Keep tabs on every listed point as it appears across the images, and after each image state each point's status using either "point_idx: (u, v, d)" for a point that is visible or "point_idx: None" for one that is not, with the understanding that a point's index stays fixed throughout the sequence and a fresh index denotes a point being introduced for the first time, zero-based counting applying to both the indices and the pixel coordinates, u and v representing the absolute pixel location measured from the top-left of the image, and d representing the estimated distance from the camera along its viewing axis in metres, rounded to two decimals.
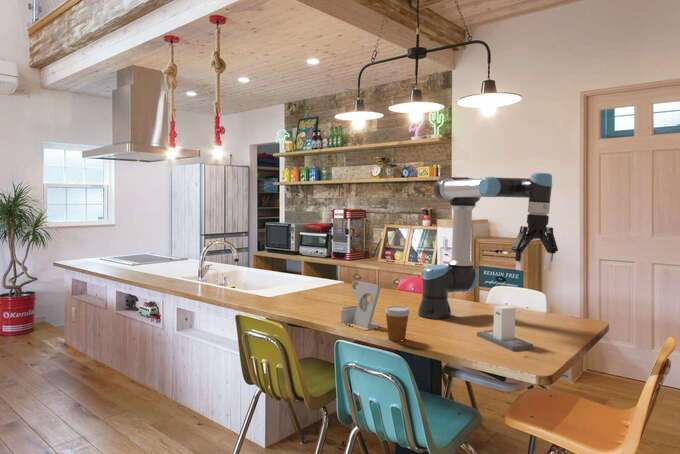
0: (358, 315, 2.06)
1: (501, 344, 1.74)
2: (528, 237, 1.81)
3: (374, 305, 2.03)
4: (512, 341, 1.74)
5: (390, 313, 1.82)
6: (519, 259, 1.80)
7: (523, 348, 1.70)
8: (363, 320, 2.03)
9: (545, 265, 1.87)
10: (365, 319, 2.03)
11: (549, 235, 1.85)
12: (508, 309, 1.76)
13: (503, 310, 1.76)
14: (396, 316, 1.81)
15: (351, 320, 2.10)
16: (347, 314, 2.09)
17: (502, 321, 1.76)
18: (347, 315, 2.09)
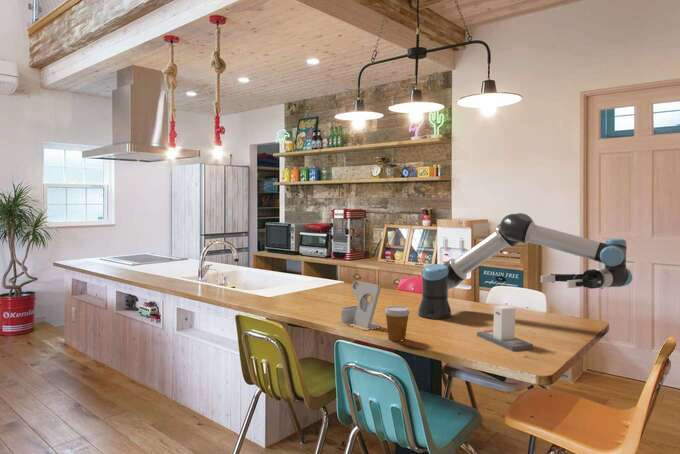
0: (358, 315, 2.06)
1: (501, 344, 1.74)
2: None
3: (374, 305, 2.02)
4: (512, 341, 1.74)
5: (390, 313, 1.82)
6: (578, 285, 1.80)
7: (523, 348, 1.70)
8: (363, 320, 2.03)
9: (545, 277, 1.93)
10: (365, 319, 2.03)
11: None
12: (508, 309, 1.76)
13: (503, 310, 1.76)
14: (396, 316, 1.81)
15: (351, 320, 2.10)
16: (347, 314, 2.08)
17: (502, 321, 1.76)
18: (347, 315, 2.08)
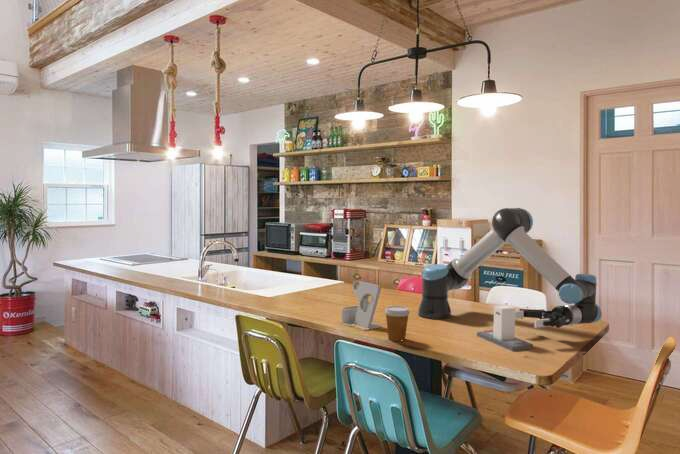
0: (359, 315, 2.06)
1: (501, 344, 1.74)
2: None
3: (375, 305, 2.02)
4: (512, 341, 1.74)
5: (390, 313, 1.82)
6: None
7: (523, 348, 1.70)
8: (364, 320, 2.03)
9: None
10: (365, 319, 2.02)
11: None
12: (508, 309, 1.76)
13: (503, 310, 1.76)
14: (396, 316, 1.81)
15: (351, 320, 2.10)
16: (348, 314, 2.08)
17: (502, 321, 1.76)
18: (348, 315, 2.08)
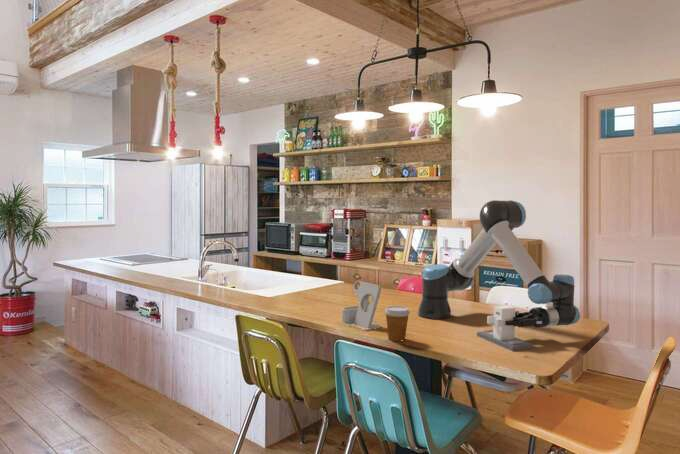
0: (359, 315, 2.06)
1: (501, 344, 1.74)
2: None
3: (375, 305, 2.02)
4: (512, 341, 1.74)
5: (390, 313, 1.82)
6: None
7: (523, 348, 1.70)
8: (364, 321, 2.03)
9: (491, 318, 1.80)
10: (366, 319, 2.02)
11: None
12: (508, 309, 1.76)
13: (503, 310, 1.76)
14: (396, 316, 1.81)
15: (352, 321, 2.09)
16: (348, 314, 2.08)
17: None
18: (348, 315, 2.08)
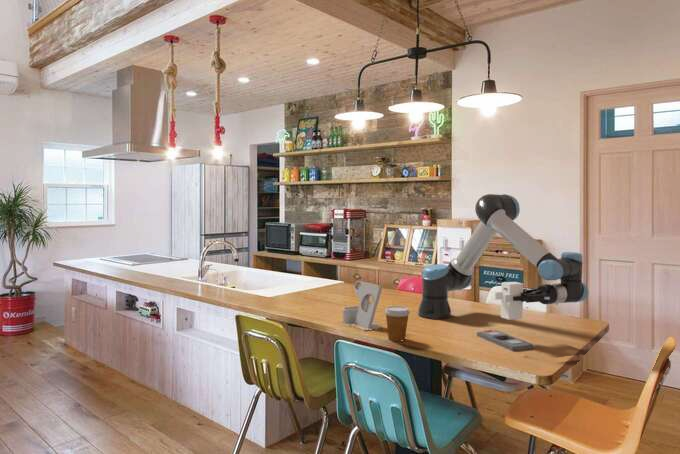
0: (359, 315, 2.06)
1: (501, 344, 1.74)
2: None
3: (375, 306, 2.02)
4: (512, 341, 1.74)
5: (390, 313, 1.82)
6: None
7: (523, 348, 1.70)
8: (364, 321, 2.02)
9: (499, 294, 1.80)
10: (366, 319, 2.02)
11: None
12: (516, 285, 1.77)
13: (511, 286, 1.76)
14: (396, 316, 1.81)
15: (352, 321, 2.09)
16: (349, 314, 2.08)
17: None
18: (349, 315, 2.08)
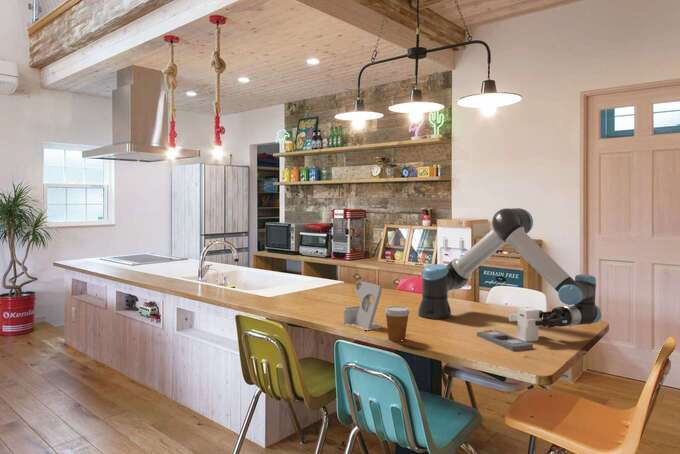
0: (360, 315, 2.06)
1: (501, 344, 1.74)
2: None
3: (375, 306, 2.01)
4: (512, 341, 1.74)
5: (390, 313, 1.82)
6: None
7: (523, 348, 1.70)
8: (364, 321, 2.02)
9: (513, 316, 1.86)
10: (366, 319, 2.02)
11: None
12: (532, 311, 1.80)
13: (527, 312, 1.80)
14: (396, 316, 1.81)
15: (353, 321, 2.09)
16: (349, 314, 2.08)
17: None
18: (349, 315, 2.08)
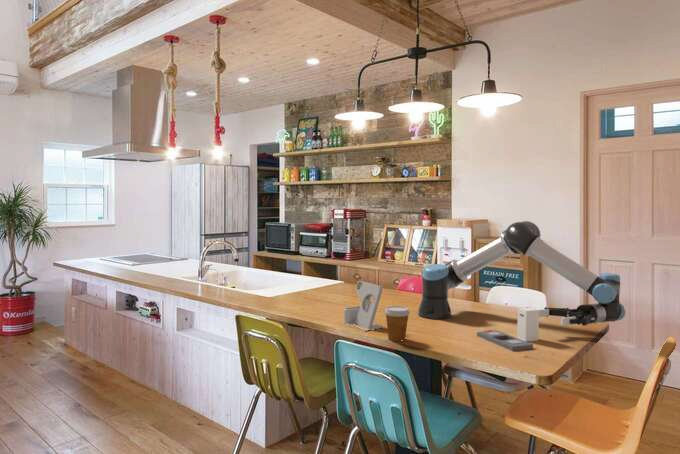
0: (360, 315, 2.05)
1: (501, 344, 1.74)
2: (581, 319, 1.86)
3: (376, 306, 2.01)
4: (512, 341, 1.74)
5: (390, 313, 1.82)
6: None
7: (523, 348, 1.70)
8: (365, 321, 2.02)
9: (539, 312, 1.92)
10: (367, 319, 2.01)
11: None
12: (532, 311, 1.80)
13: (527, 312, 1.80)
14: (396, 316, 1.81)
15: (354, 321, 2.09)
16: (350, 314, 2.08)
17: (527, 323, 1.80)
18: (350, 315, 2.08)
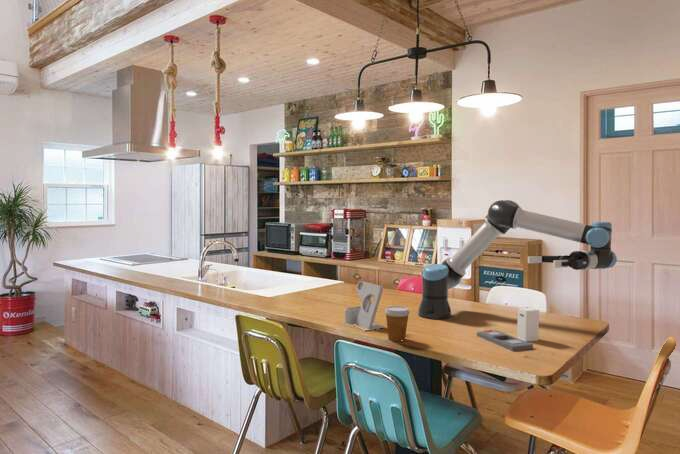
0: (361, 315, 2.05)
1: (501, 344, 1.74)
2: None
3: (376, 306, 2.01)
4: (512, 341, 1.74)
5: (390, 313, 1.82)
6: (563, 265, 1.84)
7: (523, 348, 1.70)
8: (365, 321, 2.02)
9: (532, 258, 1.96)
10: (367, 320, 2.01)
11: None
12: (532, 311, 1.80)
13: (527, 312, 1.80)
14: (396, 316, 1.81)
15: (354, 321, 2.09)
16: (350, 314, 2.08)
17: (527, 323, 1.80)
18: (350, 315, 2.08)
